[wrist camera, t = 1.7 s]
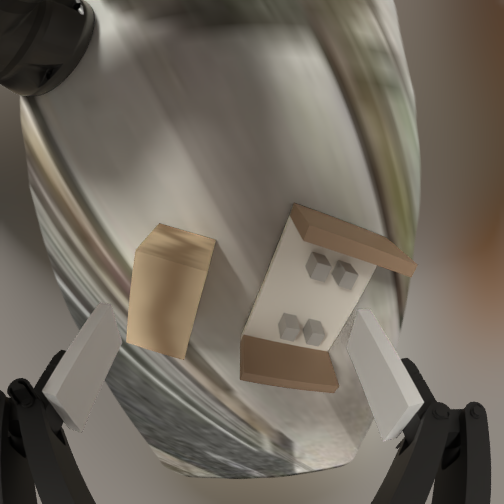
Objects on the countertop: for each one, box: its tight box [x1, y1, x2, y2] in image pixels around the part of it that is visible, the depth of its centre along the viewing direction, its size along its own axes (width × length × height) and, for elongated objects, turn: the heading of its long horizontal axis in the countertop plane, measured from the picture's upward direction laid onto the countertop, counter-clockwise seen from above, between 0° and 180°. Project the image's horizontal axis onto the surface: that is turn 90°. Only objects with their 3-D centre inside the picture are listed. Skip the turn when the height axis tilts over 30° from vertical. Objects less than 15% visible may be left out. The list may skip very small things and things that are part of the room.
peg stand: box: [240, 203, 417, 393], centre depth 32 cm, size 13×20×8 cm, turn 162°
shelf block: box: [126, 223, 216, 360], centre depth 31 cm, size 7×12×8 cm, turn 162°
